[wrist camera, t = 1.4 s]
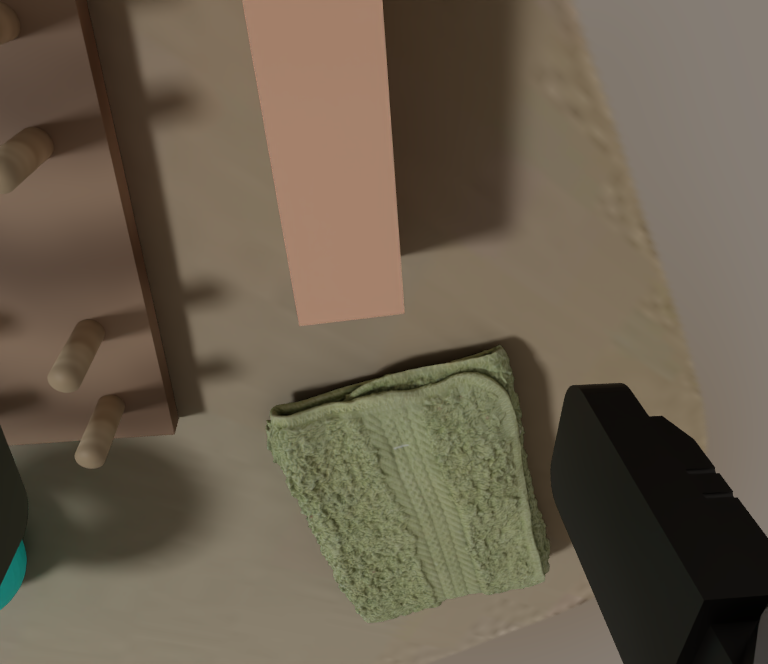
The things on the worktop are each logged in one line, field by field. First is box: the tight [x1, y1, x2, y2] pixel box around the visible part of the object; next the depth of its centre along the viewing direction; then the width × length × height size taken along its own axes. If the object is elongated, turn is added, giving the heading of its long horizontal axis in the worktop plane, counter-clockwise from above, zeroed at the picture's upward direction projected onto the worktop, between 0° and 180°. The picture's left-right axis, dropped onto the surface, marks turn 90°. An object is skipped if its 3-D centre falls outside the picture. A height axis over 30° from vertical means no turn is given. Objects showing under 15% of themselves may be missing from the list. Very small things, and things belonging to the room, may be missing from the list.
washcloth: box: [266, 345, 550, 623], centre depth 35 cm, size 13×18×3 cm
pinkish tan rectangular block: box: [242, 0, 405, 326], centre depth 23 cm, size 14×4×5 cm, turn 4°
